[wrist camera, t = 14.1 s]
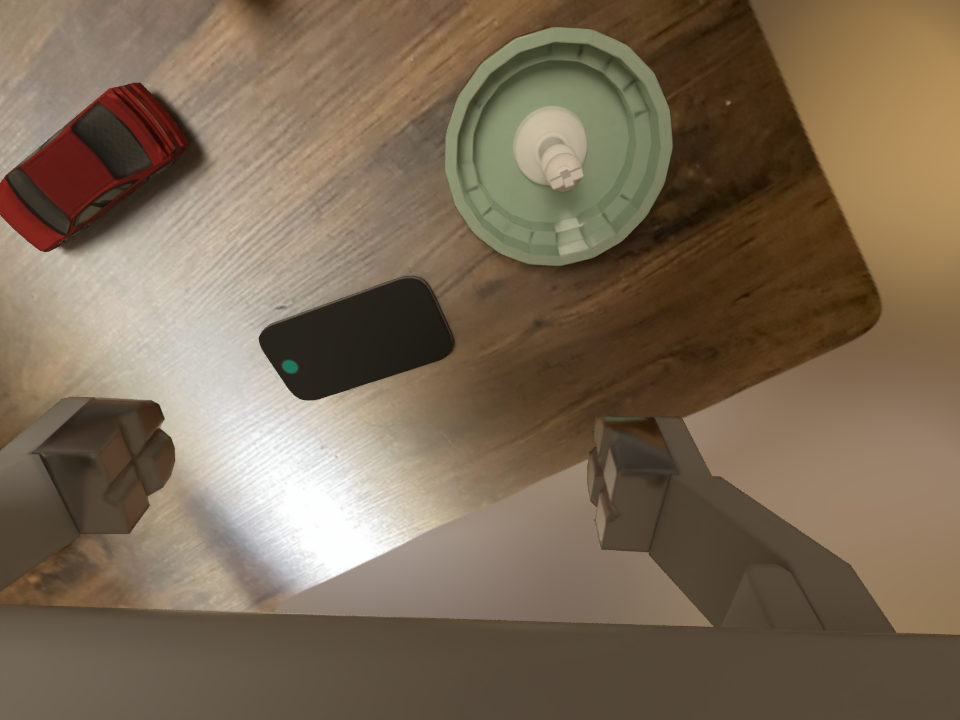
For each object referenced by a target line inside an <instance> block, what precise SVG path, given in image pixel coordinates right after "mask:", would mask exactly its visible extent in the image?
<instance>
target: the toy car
mask: <svg viewBox="0 0 960 720" xmlns="http://www.w3.org/2000/svg"><path fill="white" fill-rule="evenodd" d="M188 145H189V142H188V140H187V139H186V137H185V136H184V134H183V133H182V131H181V129H180V128H179V127H178V125H177V124H176V123H175V121H174V120H173V118H172V117H171V116H170V114H169V113H168V112H167V111H166V109H165V108H164V107H163V106H162V105H161V104H160V103H159V102H158V100H157V99H156V98H155V97H154V96H153V95H152V94H151V93H150V92H149V91H148V90H147V89H146V88H145V87H144V86H143V85H142V84H141V83H131V84H128V85H124V86H119V87H114V88H109V89H108V90H107V91H106V92H105V93H103V94H102V95H101V96H100V97H99V98H98V99H96V100H95V101H94V102H93V103H92V104H90V105H89V106H88V107H87V108H86V109H84V110H83V111H82V112H81V113H80V114H78V115H77V116H76V117H75V118H74V119H73V120H71V121H70V122H69V123H68V124H67V125H65V126H64V127H63V128H62V129H61V130H59V131H58V132H57V133H56V134H55V135H53V136H52V137H51V138H50V139H49V140H47V141H46V142H45V143H44V144H43V145H42V146H40V147H39V148H38V149H37V150H36V151H34V152H33V153H32V154H31V155H30V156H28V157H27V158H26V159H25V160H24V161H22V162H21V163H20V164H19V165H18V166H16V167H15V168H14V169H13V170H12V171H11V172H9V173H8V174H7V175H6V176H5V177H4V179H3V180H2V181H1V183H0V215H1V216H2V217H3V218H4V219H5V221H6V222H7V223H8V224H9V225H10V226H11V227H12V228H13V229H14V230H16V231H17V232H18V233H19V234H20V235H21V236H22V237H24V238H25V239H26V240H27V241H28V242H29V243H31V244H32V245H33V246H34V247H36V248H37V249H38V250H40V251H43V252H49V251H51V250H53V249H55V248H57V247H59V246H60V245H62V244H63V243H64V242H66V241H67V240H69V239H70V238H72V237H74V236H75V235H77V234H79V233H80V232H82V231H83V230H84V229H86V228H87V227H88V226H89V224H90V223H92V222H93V221H94V220H96V219H97V218H98V217H100V216H101V215H102V214H104V213H105V212H106V211H108V210H109V209H110V208H112V207H113V206H114V205H116V204H117V203H118V202H120V201H121V200H123V199H124V198H125V197H127V196H128V195H129V194H131V193H132V192H133V191H135V190H136V189H137V188H139V187H140V186H141V185H143V184H144V183H145V182H147V181H148V180H147V181H144V180H145V179H146V178H148V177H149V176H150V177H149V178H148V179H150V178H152V177H154V176H156V175H158V174H159V173H161V172H162V171H164V170H165V169H167V168H168V167H170V166H171V165H172V164H173V163H174V162H172V161H174V160H176V159H177V158H178V157H179V156H181V155H182V154H183V153H184V151H185V150H186V148H187V147H188ZM171 162H172V163H171ZM169 163H170V164H169ZM87 225H88V226H87ZM85 226H86V227H85ZM83 227H84V228H83ZM64 239H65V240H64ZM63 240H64V241H63ZM61 241H63V243H61V244H59V243H60V242H61Z"/></svg>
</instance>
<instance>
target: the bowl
mask: <svg viewBox="0 0 960 720" xmlns="http://www.w3.org/2000/svg"><path fill="white" fill-rule="evenodd" d="M547 106H558V107H562V108H565V109H568V110H569V111H571V112H573V113H574V114H575V115H576V116H577V117H578V118H579V119H580V121H581V122H582V124H583V126H584V128H585V131H586V134H587V153H586V157H585V160H584V162H583V164H582V170H583V175H584V176H583V177H581V180H580V182H579V183H578V184H577V186H576V187H574V188H573V189H571V190H569V191H565V192H560V191H556V190H553V189H552V188H551V187H550V186H549V185H541V184H537V183H535V182H533V181H531V180H530V179H528V178H527V177H526V176H524V175H523V173H522V172H521V171H520V170H519V168H518V166H517V164H516V162H515V159H514V154H513V141H514V137H515V133H516V131H517V129H518V127H519V125H520V124H521V122H522V121H523V120H524V119H525V118H526V117H527V116H528V115H529V114H530V113H532V112H533V111H535V110H537V109H540V108H543V107H547ZM672 147H673V142H672V130H671V118H670V109H669V106H668V104H667V101H666V99H665V97H664V94H663V92H662V90H661V87H660V85H659V83H658V80H657V78H656V76H655V74H654V72H653V71H652V70H651V69H650V68H649V67H648V66H647V65H646V64H645V63H644V62H643V61H642V60H641V59H640V58H639V57H638V56H637V54H636V53H635V52H634V51H633V50H632V49H631V48H630V47H629V46H627V45H626V44H623V43H621V42H619V41H617V40H615V39H613V38H611V37H608V36H606V35H604V34H602V33H600V32H598V31H596V30H592V29H581V28H564V27H549V28H543V29H540V30H537V31H533V32H530V33H527V34H524V35H520V36H517V37H514V38H512V39H510V40H509V41H507V42H506V43H505V44H503V45H502V46H501V47H499V48H498V49H497V50H495V51H494V52H493V53H491V54H490V55H488V56H487V57H486V58H484V59H483V61H481V63H480V64H479V65H478V67H477V68H476V70H475V71H474V72H473V74H472V75H471V77H470V78H469V80H468V81H467V82H466V84H465V85H464V87H463V88H462V90H461V92H460V94H459V96H458V98H457V101H456V104H455V107H454V110H453V113H452V116H451V119H450V122H449V125H448V128H447V131H446V142H445V171H446V172H445V173H446V176H447V180H448V183H449V187H450V190H451V194H452V197H453V200H454V204H455V206H456V208H457V209H458V211H459V212H460V214H461V215H462V217H463V218H464V220H465V221H466V223H467V224H468V226H469V227H470V229H471V230H472V232H473V233H474V234H475V235H477V236H478V237H479V238H480V239H482V240H483V241H484V242H485V243H487V244H488V245H489V246H491V247H492V248H493V249H494V250H496V251H497V252H498V253H500V254H502V255H505V256H507V257H510V258H513V259H515V260H518V261H521V262H524V263H526V264H532V265H551V266H560V265H561V266H563V265H567V264H571V263H575V262H579V261H583V260H587V259H591V258H594V257H596V256H597V255H599V254H601V253H603V252H604V251H606V250H608V249H610V248H611V247H613V246H615V245H617V244H618V243H620V242H622V241H623V240H624V239H625V238H626V237H627V236H628V235H629V234H630V233H631V232H632V231H633V230H634V229H635V228H636V227H637V226H638V225H639V224H640V222H641V221H642V220H643V219H644V218H645V217H646V215H648V213H649V211H650V209H651V208H652V206H653V204H654V202H655V200H656V198H657V197H658V195H659V193H660V191H661V189H662V188H663V186H664V183H665V180H666V175H667V171H668V166H669V162H670V157H671V153H672Z"/></svg>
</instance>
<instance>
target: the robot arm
mask: <svg viewBox="0 0 960 720" xmlns="http://www.w3.org/2000/svg"><path fill="white" fill-rule="evenodd" d="M164 420H165V418H164V416H163V413H162V411H161V408H160V406H159V404H157V403H155V402H153V401H151V400H135V399H117V398H94V397H68V398H64V399H61V400H60V401H59V402H58V403H56V404H55V405H54V406H53V407H52V408H50V409H49V410H48V411H47V412H46V413H45V414H43V415H42V416H41V417H40V418H39V419H37V420H36V421H35V422H34V423H33V424H31V425H30V426H29V427H28V428H27V429H26V430H24V431H23V432H22V433H21V434H20V435H18V436H17V437H16V438H15V439H14V440H12V441H11V442H10V443H9V444H8V445H7V446H5V447H4V448H3V449H2V450H1V451H0V591H2V590H3V589H5V588H6V587H8V586H9V585H10V584H12V583H13V582H15V581H16V580H18V579H19V578H21V577H22V576H23V575H25V574H26V573H28V572H29V571H31V570H32V569H33V568H35V567H36V566H38V565H39V564H41V563H42V562H44V561H45V560H46V559H48V558H49V557H51V556H52V555H54V554H55V553H57V552H58V551H59V550H61V549H62V548H64V547H65V546H67V545H68V544H69V543H71V542H72V541H74V540H75V539H77V538H78V537H80V534H130V532H131V531H132V529H133V528H134V527H135V525H136V524H137V523H138V521H139V520H140V518H141V517H142V516H143V514H144V513H145V512H146V510H147V509H148V507H149V506H150V504H149V499H148V496H149V495H151V494H152V493H154V492H156V491H158V490H159V489H161V488H163V487H164V485H165V484H166V482H167V481H168V479H169V478H170V476H171V474H172V470H173V467H174V463H175V448H174V445H173V442H172V439H171V437H170V436H168V435H167V434H166V433H165V432H164V431H163V430H161V429H160V427H161V425H162V423H163V421H164ZM593 436H594V440H595V444H596V446H595V447H594V448H593V449H592V450H591V451H590V452H589V459H588V466H587V470H588V471H587V484H588V492H589V497H590V501H591V502H592V503H593V504H594V505H595V506H596V507H597V509H596V515H595V525H596V529H597V534H598V538H599V542H600V547H601V549H602V550H619V551H636V552H649V555H650V556H651V558H652V559H653V560H654V561H655V562H656V563H657V564H658V565H659V566H660V568H661V569H662V570H663V571H664V572H665V573H666V574H667V575H668V576H669V577H670V579H672V581H673V582H674V583H675V584H676V585H677V586H678V587H679V589H680V590H681V591H683V593H684V594H685V595H686V596H687V597H688V599H689V600H690V601H691V602H692V603H693V604H694V605H695V606H696V607H697V608H698V610H699V611H700V612H701V613H702V614H703V615H704V616H705V617H706V618H707V620H708V621H709V622H710V623H711V624H712V625H713V626H714V627H696V626H666V625H634V624H602V623H600V624H599V623H571V622H539V621H538V622H537V621H508V620H478V619H448V618H416V617H388V616H386V617H385V616H357V615H356V616H355V615H325V614H294V613H293V614H292V613H263V612H232V611H201V610H169V609H138V608H107V607H76V606H45V605H13V604H0V720H960V635H945V634H913V633H912V634H911V633H896V631H895V630H894V628H893V627H892V625H891V624H890V623H889V621H888V620H887V618H886V617H885V615H884V614H883V612H882V611H881V609H880V608H879V606H878V605H877V603H876V602H875V600H874V599H873V598H872V596H871V594H870V593H869V592H868V590H867V589H866V587H865V586H864V584H863V583H862V581H861V580H860V578H859V577H858V575H857V574H856V572H855V571H854V569H853V568H852V567H851V565H850V564H848V563H847V562H845V561H843V560H842V559H841V558H839V557H838V556H836V555H835V554H833V553H832V552H830V551H829V550H827V549H826V548H824V547H823V546H821V545H820V544H819V543H817V542H816V541H814V540H813V539H811V538H810V537H808V536H807V535H805V534H804V533H802V532H801V531H799V530H798V529H797V528H795V527H794V526H792V525H791V524H789V523H788V522H786V521H785V520H783V519H782V518H780V517H779V516H777V515H776V514H774V513H773V512H772V511H770V510H769V509H767V508H766V507H764V506H763V505H761V504H760V503H758V502H757V501H755V500H754V499H752V498H751V497H749V496H748V495H747V494H745V493H744V492H742V491H741V490H739V489H738V488H736V487H735V486H733V485H732V484H730V483H729V482H727V481H726V480H724V479H723V478H722V477H717V476H711V473H710V472H709V469H708V468H707V466H706V464H705V462H704V460H703V458H702V456H701V454H700V452H699V450H698V448H697V446H696V444H695V443H694V441H693V438H692V437H691V435H690V433H689V431H688V429H687V427H686V425H685V423H684V421H683V419H681V418H680V417H678V416H652V417H624V416H597V418H596V421H595V424H594V430H593Z"/></svg>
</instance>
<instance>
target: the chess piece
mask: <svg viewBox="0 0 960 720" xmlns="http://www.w3.org/2000/svg"><path fill="white" fill-rule="evenodd" d="M586 153H587V134H586V131H585V128H584V126H583V124H582V122H581V121H580V119H579V118H578V117H577V116H576V115H575V114H574V113H573V112H571V111H569V110H568V109H565V108H562V107H558V106H547V107H543V108H540V109H537V110H535V111H533V112H532V113H530V114H529V115H528V116H527V117H526V118H525V119H524V120H523V121H522V122H521V124H520V125H519V127H518V129H517V131H516V133H515V137H514V141H513V154H514V159H515V162H516V164H517V166H518V168H519V170H520V171H521V172H522V173H523V175H524V176H526V177H527V178H528V179H530V180H531V181H533V182H535V183H537V184H541V185H549V186H550V187H551V188H552V189H553V190H556V191H560V192H565V191H569V190H571V189H573V188H574V187H576V186H577V184H578V183H579V182H580V180H581V177H583V176H584V175H583V170H582V164H583V162H584V160H585V157H586Z"/></svg>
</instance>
